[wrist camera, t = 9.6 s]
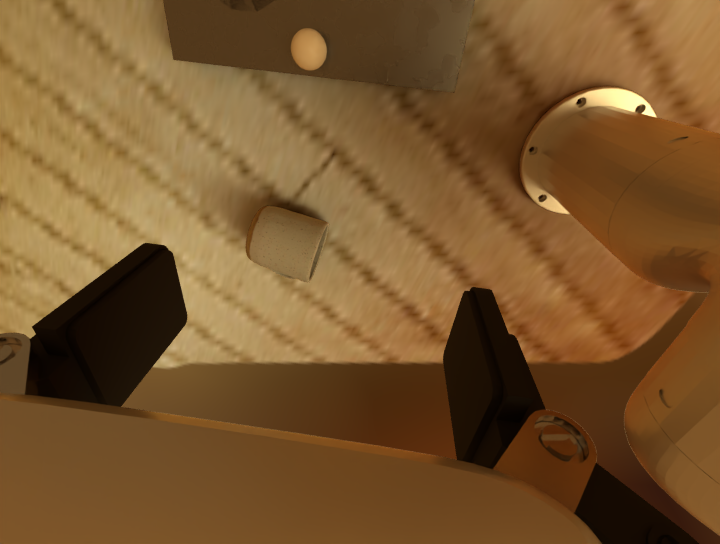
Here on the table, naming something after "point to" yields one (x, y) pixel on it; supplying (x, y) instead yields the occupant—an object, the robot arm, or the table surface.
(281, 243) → the ceramic mug
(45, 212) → the table surface
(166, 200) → the table surface
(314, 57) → the cream ball
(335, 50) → the grey metal slab
